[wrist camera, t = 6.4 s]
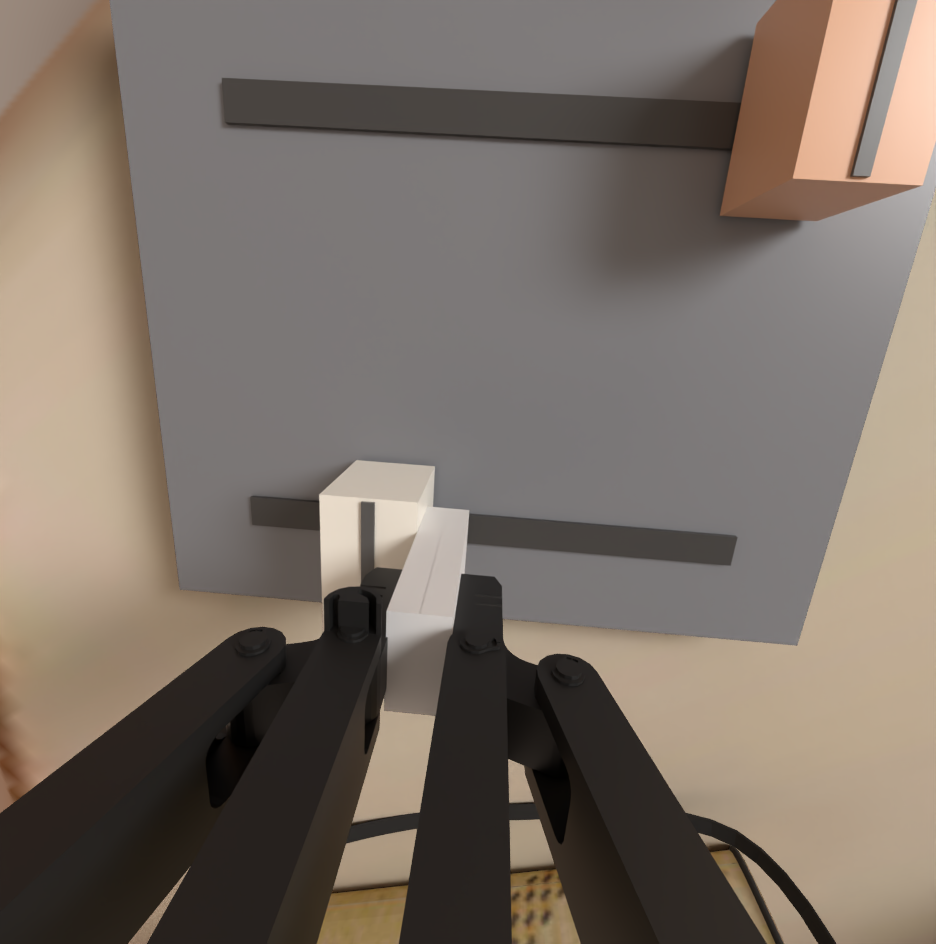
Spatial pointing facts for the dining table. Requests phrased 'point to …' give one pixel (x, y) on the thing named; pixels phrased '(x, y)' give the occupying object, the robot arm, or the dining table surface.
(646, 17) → the slider panel
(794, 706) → the dining table surface
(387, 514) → the fader
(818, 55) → the fader
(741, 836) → the clutch purse
